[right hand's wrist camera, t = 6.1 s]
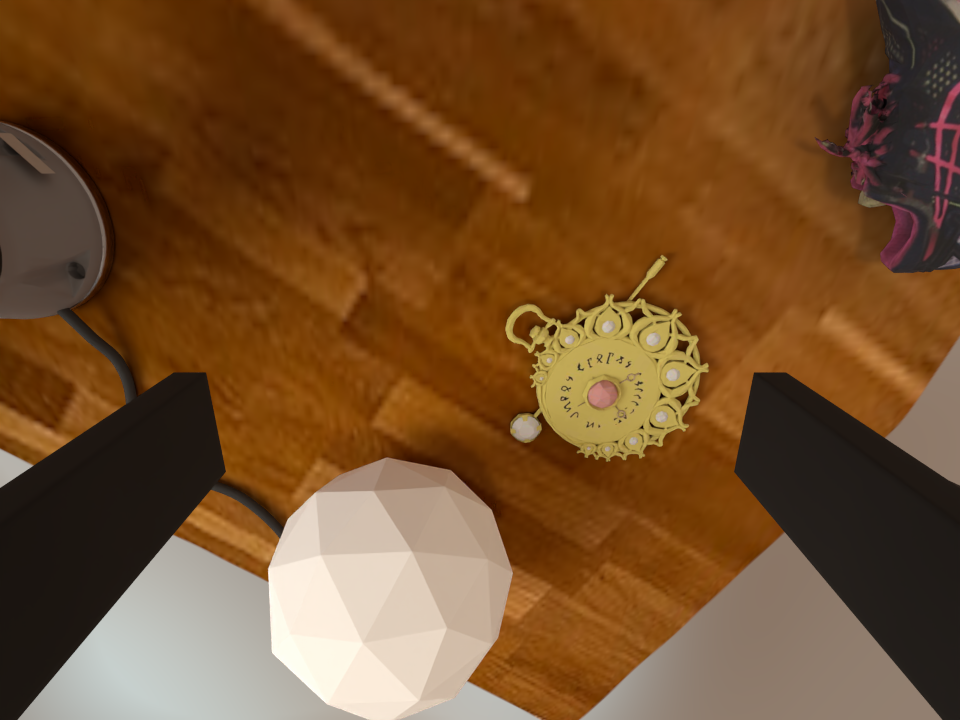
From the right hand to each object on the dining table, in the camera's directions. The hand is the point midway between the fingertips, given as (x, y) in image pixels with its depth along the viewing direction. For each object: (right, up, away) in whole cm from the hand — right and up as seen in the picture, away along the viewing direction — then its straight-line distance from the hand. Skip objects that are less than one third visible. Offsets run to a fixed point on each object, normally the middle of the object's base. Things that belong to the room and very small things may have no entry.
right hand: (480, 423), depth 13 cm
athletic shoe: (+31, +18, +27) cm, 45 cm away
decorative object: (+11, +1, +34) cm, 36 cm away
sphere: (-7, -13, +39) cm, 42 cm away
